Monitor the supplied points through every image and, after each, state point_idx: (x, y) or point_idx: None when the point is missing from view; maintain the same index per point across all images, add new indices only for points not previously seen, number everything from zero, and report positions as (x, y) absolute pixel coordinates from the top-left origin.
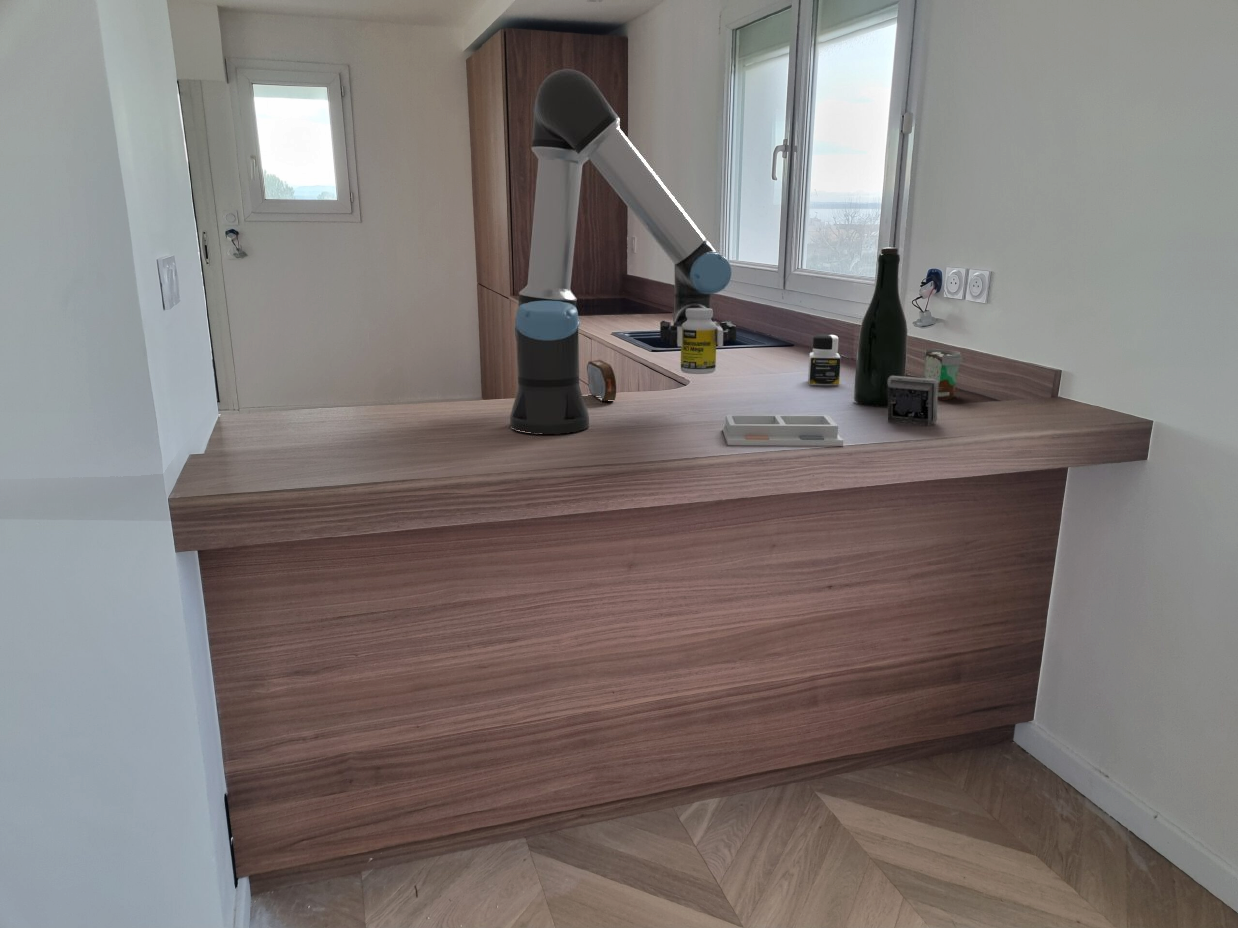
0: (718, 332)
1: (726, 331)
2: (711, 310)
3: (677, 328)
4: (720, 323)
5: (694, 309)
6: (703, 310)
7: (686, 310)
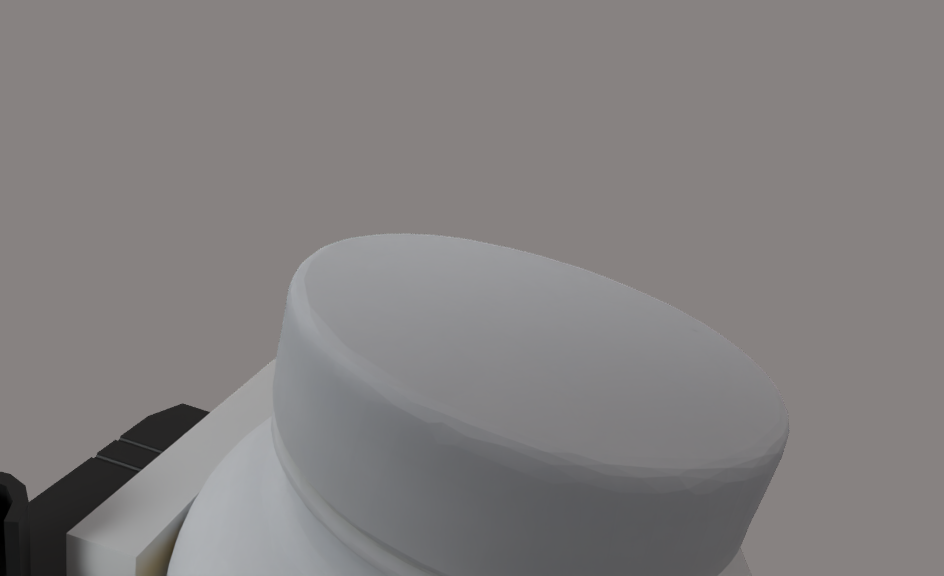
0: None
1: (147, 432)
2: (374, 242)
3: (739, 548)
4: (28, 520)
5: (617, 311)
6: (500, 247)
7: (736, 361)
